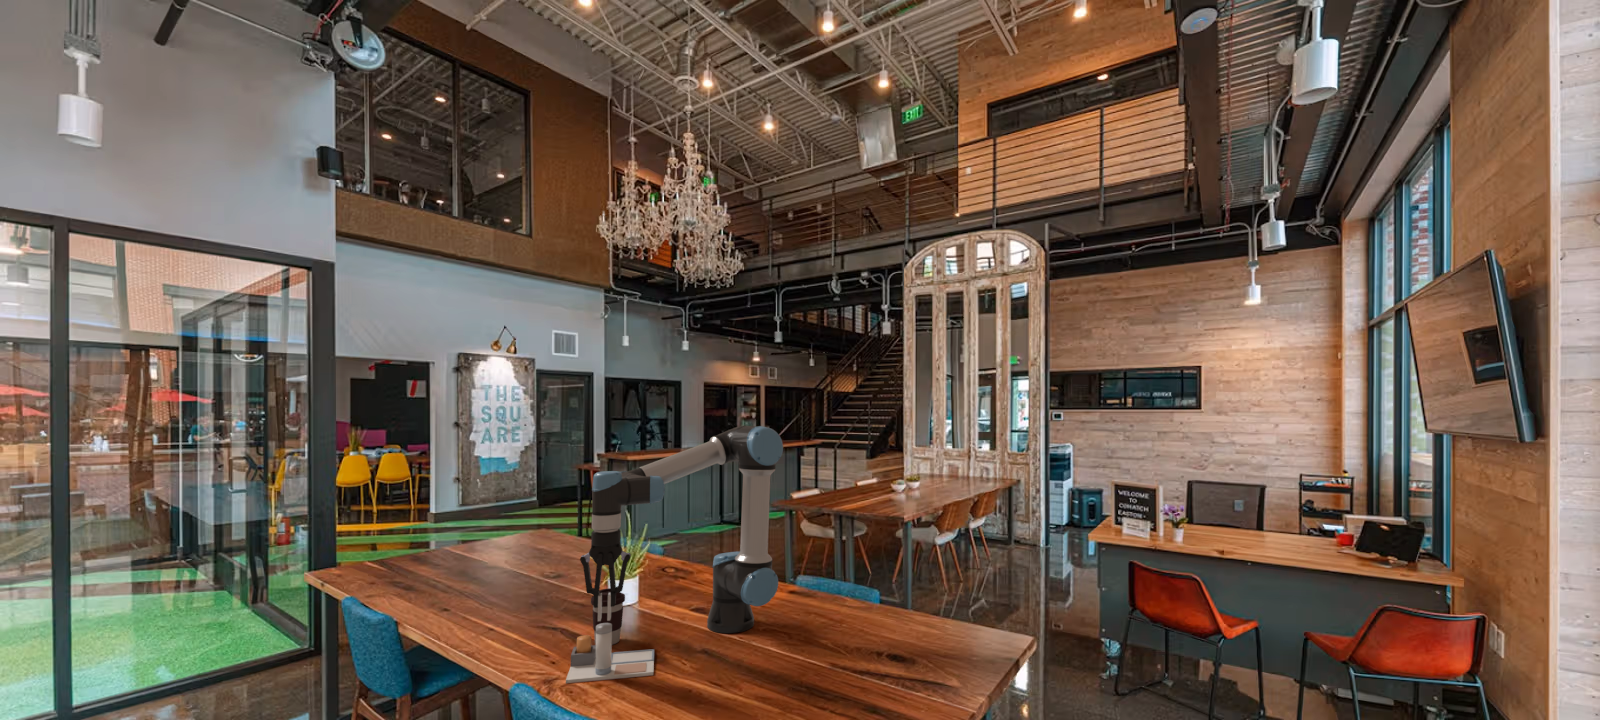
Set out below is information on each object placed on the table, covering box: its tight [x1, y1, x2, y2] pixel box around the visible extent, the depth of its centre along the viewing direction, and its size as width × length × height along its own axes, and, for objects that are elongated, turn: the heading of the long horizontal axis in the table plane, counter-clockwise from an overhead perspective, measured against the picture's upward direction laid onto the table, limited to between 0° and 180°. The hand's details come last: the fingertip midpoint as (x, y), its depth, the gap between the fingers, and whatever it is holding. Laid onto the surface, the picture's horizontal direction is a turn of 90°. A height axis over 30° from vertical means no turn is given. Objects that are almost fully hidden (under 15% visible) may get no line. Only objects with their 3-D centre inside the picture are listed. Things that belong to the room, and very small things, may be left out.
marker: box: [595, 623, 613, 675], centre depth 165 cm, size 4×4×12 cm
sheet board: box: [565, 644, 655, 684], centre depth 170 cm, size 22×16×4 cm
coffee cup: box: [590, 587, 626, 646], centre depth 188 cm, size 10×10×15 cm
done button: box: [576, 634, 592, 654], centre depth 172 cm, size 4×4×5 cm
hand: (604, 619), depth 166 cm, fingers open, 2 cm apart
